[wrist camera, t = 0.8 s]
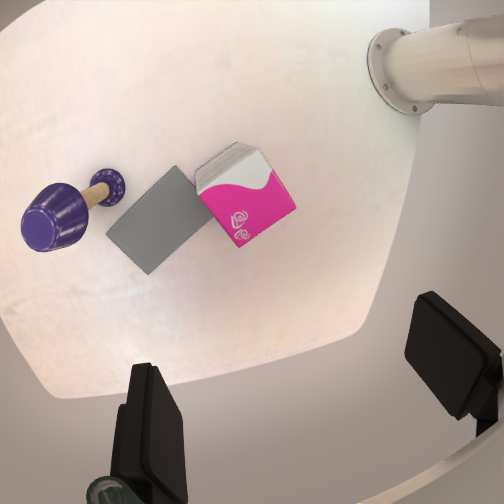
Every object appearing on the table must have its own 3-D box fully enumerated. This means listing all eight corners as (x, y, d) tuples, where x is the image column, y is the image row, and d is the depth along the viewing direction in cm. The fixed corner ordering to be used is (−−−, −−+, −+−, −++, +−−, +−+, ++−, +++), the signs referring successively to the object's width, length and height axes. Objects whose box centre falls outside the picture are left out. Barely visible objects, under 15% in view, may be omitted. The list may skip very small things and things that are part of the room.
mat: (175, 165, 31) (174, 165, 30) (217, 211, 34) (217, 212, 33) (106, 232, 32) (105, 234, 31) (148, 273, 35) (147, 275, 34)
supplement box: (192, 172, 31) (194, 191, 21) (236, 141, 31) (261, 143, 21) (222, 213, 34) (239, 250, 23) (265, 183, 34) (301, 206, 23)
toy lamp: (84, 203, 30) (12, 262, 15) (88, 162, 28) (9, 191, 13) (123, 207, 31) (73, 272, 16) (128, 166, 30) (74, 196, 14)
